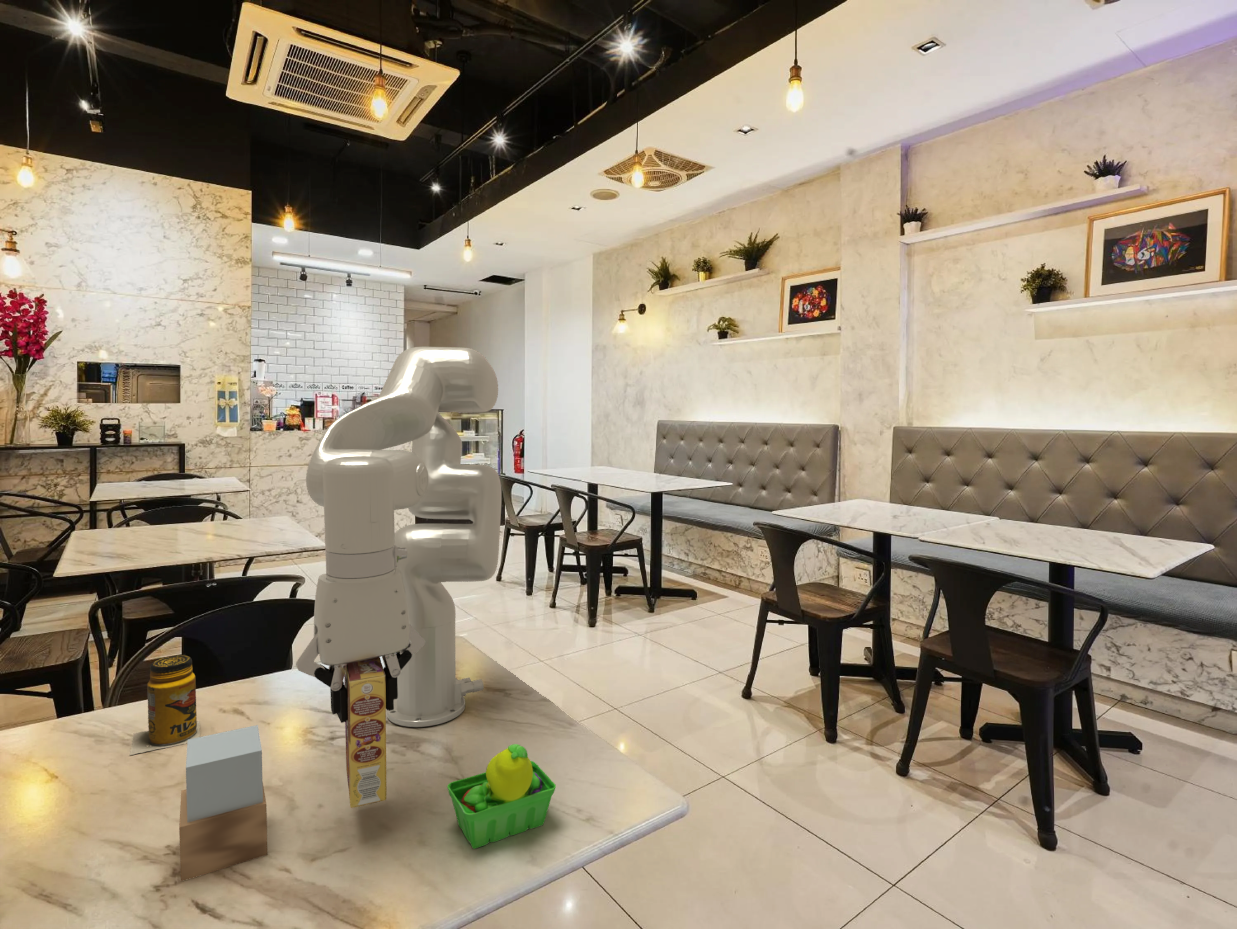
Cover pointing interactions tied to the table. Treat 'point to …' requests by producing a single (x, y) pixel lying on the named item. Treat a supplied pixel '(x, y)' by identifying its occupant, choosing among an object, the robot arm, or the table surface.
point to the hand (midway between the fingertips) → (365, 710)
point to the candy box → (366, 732)
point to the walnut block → (221, 838)
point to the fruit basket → (502, 798)
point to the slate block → (223, 772)
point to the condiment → (169, 706)
